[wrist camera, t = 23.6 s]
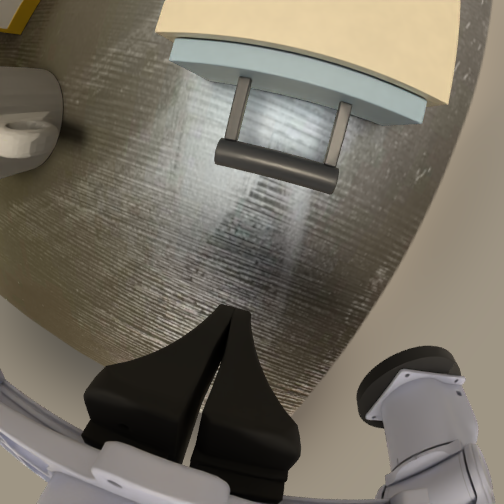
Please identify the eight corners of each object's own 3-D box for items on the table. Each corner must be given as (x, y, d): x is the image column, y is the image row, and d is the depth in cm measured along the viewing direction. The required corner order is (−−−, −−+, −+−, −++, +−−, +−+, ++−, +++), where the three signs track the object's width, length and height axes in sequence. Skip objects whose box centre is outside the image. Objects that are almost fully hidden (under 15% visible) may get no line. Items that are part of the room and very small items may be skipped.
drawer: (363, 194, 18) (392, 223, 12) (192, 149, 18) (147, 158, 13) (411, -30, 11) (442, -69, 5) (255, -68, 11) (240, -116, 5)
